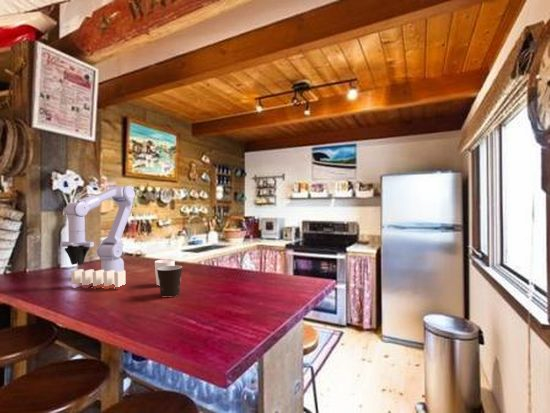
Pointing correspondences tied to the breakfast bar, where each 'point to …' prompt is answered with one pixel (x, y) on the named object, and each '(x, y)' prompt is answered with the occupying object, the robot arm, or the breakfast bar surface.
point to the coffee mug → (169, 280)
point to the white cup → (161, 264)
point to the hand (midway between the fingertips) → (77, 264)
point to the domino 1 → (76, 276)
